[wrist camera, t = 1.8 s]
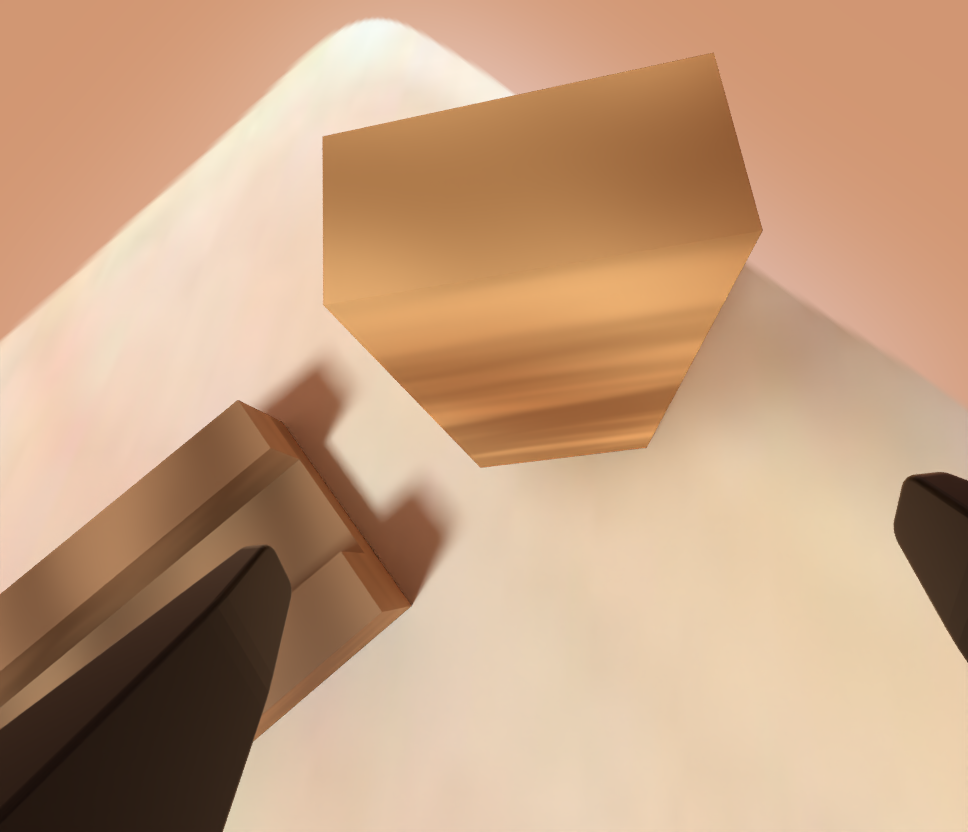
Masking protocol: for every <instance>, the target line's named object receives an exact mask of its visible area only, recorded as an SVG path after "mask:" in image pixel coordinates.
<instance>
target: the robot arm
mask: <svg viewBox="0 0 968 832" xmlns="http://www.w3.org/2000/svg"><path fill="white" fill-rule="evenodd" d="M894 533H895V536H896V539H897V541H898V544H899V545H900V547H901V549H902V551H903V552H904V554H905V556H906V558H907V560H908V561H909V563H910V565H911V567H912V569H913V570H914V572H915V574H916V576H917V577H918V579H919V581H920V583H921V585H922V586H923V588H924V590H925V592H926V593H927V595H928V597H929V599H930V601H931V602H932V604H933V606H934V608H935V610H936V611H937V613H938V615H939V617H940V618H941V620H942V622H943V624H944V626H945V627H946V629H947V631H948V632H949V634H950V636H951V637H952V639H953V641H954V642H955V644H956V646H957V647H958V649H959V650H960V652H961V653H962V655H963V656H964V658H965V659H966V661H967V662H968V481H967V480H965V479H962V478H959V477H957V476H954V475H951V474H948V473H944V472H935V473H925V474H916V475H911V476H909V477H907V478H906V479H905V481H904V482H903V485H902V488H901V493H900V497H899V501H898V506H897V510H896V515H895V519H894ZM291 595H292V588H291V583H290V580H289V578H288V576H287V574H286V572H285V569H284V567H283V565H282V563H281V561H280V559H279V557H278V555H277V553H276V551H275V549H274V548H273V547H272V546H270V545H267V544H262V545H253V546H246V547H243V548H241V549H239V550H238V551H237V552H235V553H234V554H233V555H231V556H230V557H229V558H227V559H226V560H225V561H223V562H222V563H221V564H219V565H218V566H217V567H215V568H214V569H213V570H211V571H210V572H209V573H207V574H206V575H205V576H203V577H202V578H201V579H199V580H198V581H197V582H195V583H194V584H193V585H191V586H190V587H189V588H187V589H186V590H185V591H183V592H182V593H181V594H179V595H178V596H177V597H175V598H174V599H173V600H171V601H170V602H169V603H167V604H166V605H165V606H163V607H162V608H161V609H159V610H158V611H157V612H155V613H154V614H153V615H151V616H150V617H149V618H147V619H146V620H145V621H143V622H142V623H141V624H139V625H138V626H137V627H135V628H134V629H133V630H131V631H130V632H129V633H127V634H126V635H125V636H123V637H122V638H121V639H119V640H118V641H117V642H115V643H114V644H113V645H111V646H110V647H109V648H107V649H106V650H105V651H103V652H102V653H101V654H99V655H98V656H97V657H95V658H94V659H93V660H92V661H90V662H89V663H88V664H86V665H85V666H84V667H82V668H81V669H80V670H78V671H77V672H76V673H74V674H73V675H72V676H70V677H69V678H68V679H66V680H65V681H64V682H62V683H61V684H60V685H58V686H57V687H56V688H54V689H53V690H52V691H50V692H49V693H48V694H46V695H45V696H44V697H42V698H41V699H40V700H38V701H37V702H36V703H34V704H33V705H32V706H30V707H29V708H28V709H26V710H25V711H24V712H22V713H21V714H20V715H18V716H17V717H16V718H14V719H13V720H12V721H10V722H9V723H8V724H6V725H5V726H4V727H2V728H1V729H0V832H223V829H224V826H225V824H226V821H227V818H228V815H229V812H230V809H231V806H232V803H233V800H234V797H235V794H236V791H237V788H238V785H239V782H240V779H241V776H242V773H243V770H244V767H245V764H246V761H247V758H248V755H249V752H250V749H251V746H252V743H253V740H254V737H255V734H256V731H257V728H258V725H259V722H260V719H261V716H262V713H263V710H264V707H265V704H266V701H267V697H268V694H269V691H270V687H271V683H272V679H273V675H274V671H275V667H276V662H277V658H278V653H279V649H280V645H281V640H282V636H283V632H284V627H285V623H286V618H287V614H288V610H289V605H290V601H291Z"/></svg>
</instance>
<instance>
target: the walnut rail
mask: <svg viewBox="0 0 968 832" xmlns="http://www.w3.org/2000/svg"><path fill="white" fill-rule="evenodd" d="M262 544H267V545H270V546H272V547H273V548H274V549H275V551H276V553H277V555H278V557H279V559H280V561H281V563H282V565H283V567H284V569H285V572H286V574H287V576H288V578H289V580H290V583H291V588H292V595H291V601H290V605H289V610H288V614H287V618H286V623H285V627H284V632H283V636H282V640H281V645H280V649H279V653H278V658H277V662H276V667H275V671H274V675H273V679H272V683H271V687H270V691H269V694H268V697H267V701H266V704H265V707H264V710H263V713H262V716H261V719H260V722H259V725H258V728H257V731H256V734H255V737H254V740H256V739H257V738H258V737H259V736H260V735H261V734H263V733H264V732H265V731H266V730H267V729H268V728H270V727H271V726H272V725H273V724H274V723H275V722H277V721H278V720H279V719H280V718H281V717H282V716H284V715H285V714H286V713H287V712H288V711H289V710H291V709H292V708H293V707H294V706H295V705H296V704H298V703H299V702H300V701H301V700H302V699H303V698H305V697H306V696H307V695H308V694H309V693H310V692H312V691H313V690H314V689H315V688H316V687H317V686H319V685H320V684H321V683H322V682H323V681H324V680H326V679H327V678H328V677H329V676H330V675H331V674H333V673H334V672H335V671H336V670H337V669H338V668H340V667H341V666H342V665H343V664H344V663H345V662H347V661H348V660H349V659H350V658H351V657H352V656H354V655H355V654H356V653H357V652H358V651H359V650H361V649H362V648H363V647H364V646H365V645H366V644H368V643H369V642H370V641H371V640H372V639H373V638H375V637H376V636H377V635H378V634H379V633H380V632H382V631H383V630H384V629H385V628H386V627H387V626H389V625H390V624H391V623H392V622H393V621H395V620H396V619H397V618H398V617H399V616H400V615H402V614H403V613H404V612H405V611H406V610H407V609H409V608H410V607H411V605H410V603H409V602H408V600H407V599H406V597H405V596H404V595H403V593H402V592H401V590H400V589H399V588H398V586H397V585H396V583H395V582H394V580H393V579H392V578H391V576H390V575H389V573H388V572H387V570H386V569H385V568H384V566H383V565H382V563H381V562H380V561H379V559H378V558H377V556H376V555H375V553H374V552H373V551H372V549H371V548H370V546H369V545H368V543H367V542H366V541H365V539H364V538H363V536H362V535H361V533H360V532H359V531H358V529H357V528H356V526H355V525H354V524H353V522H352V521H351V519H350V518H349V516H348V515H347V514H346V512H345V511H344V509H343V508H342V506H341V505H340V504H339V502H338V501H337V499H336V498H335V497H334V495H333V494H332V492H331V491H330V489H329V488H328V487H327V485H326V484H325V482H324V481H323V479H322V478H321V477H320V475H319V474H318V472H317V471H316V469H315V468H314V467H313V465H312V464H311V462H310V461H309V460H308V458H307V457H306V455H305V454H304V452H303V451H302V450H301V448H300V447H299V445H298V444H297V442H296V441H295V440H294V438H293V437H292V435H291V434H290V433H289V431H288V430H287V428H286V427H285V425H284V424H283V423H282V422H281V421H279V420H277V419H275V418H273V417H271V416H269V415H267V414H265V413H263V412H261V411H259V410H257V409H255V408H253V407H251V406H249V405H247V404H245V403H243V402H241V401H239V400H237V401H236V402H235V403H234V404H232V405H231V406H230V407H229V408H228V409H226V410H225V411H224V412H223V413H221V414H220V415H219V416H218V417H217V418H215V419H214V420H213V421H212V422H210V423H209V424H208V425H207V426H205V427H204V428H203V429H202V430H201V431H199V432H198V433H197V434H196V435H194V436H193V437H192V438H191V439H190V440H188V441H187V442H186V443H185V444H183V445H182V446H181V447H180V448H179V449H177V450H176V451H175V452H174V453H172V454H171V455H170V456H169V457H168V458H166V459H165V460H164V461H163V462H161V463H160V464H159V465H158V466H157V467H155V468H154V469H153V470H152V471H150V472H149V473H148V474H147V475H146V476H144V477H143V478H142V479H141V480H139V481H138V482H137V483H136V484H135V485H133V486H132V487H131V488H130V489H128V490H127V491H126V492H125V493H124V494H122V495H121V496H120V497H119V498H117V499H116V500H115V501H114V502H112V503H111V504H110V505H109V506H108V507H106V508H105V509H104V510H103V511H101V512H100V513H99V514H98V515H97V516H95V517H94V518H93V519H92V520H90V521H89V522H88V523H87V524H86V525H84V526H83V527H82V528H81V529H79V530H78V531H77V532H76V533H75V534H73V535H72V536H71V537H70V538H68V539H67V540H66V541H65V542H64V543H62V544H61V545H60V546H59V547H57V548H56V549H55V550H54V551H53V552H51V553H50V554H49V555H48V556H46V557H45V558H44V559H43V560H42V561H40V562H39V563H38V564H37V565H35V566H34V567H33V568H32V569H31V570H29V571H28V572H27V573H26V574H24V575H23V576H22V577H21V578H19V579H18V580H17V581H16V582H15V583H13V584H12V585H11V586H10V587H8V588H7V589H6V590H5V591H4V592H2V593H1V594H0V729H1V728H2V727H4V726H5V725H6V724H8V723H9V722H10V721H12V720H13V719H14V718H16V717H17V716H18V715H20V714H21V713H22V712H24V711H25V710H26V709H28V708H29V707H30V706H32V705H33V704H34V703H36V702H37V701H38V700H40V699H41V698H42V697H44V696H45V695H46V694H48V693H49V692H50V691H52V690H53V689H54V688H56V687H57V686H58V685H60V684H61V683H62V682H64V681H65V680H66V679H68V678H69V677H70V676H72V675H73V674H74V673H76V672H77V671H78V670H80V669H81V668H82V667H84V666H85V665H86V664H88V663H89V662H90V661H92V660H93V659H94V658H95V657H97V656H98V655H99V654H101V653H102V652H103V651H105V650H106V649H107V648H109V647H110V646H111V645H113V644H114V643H115V642H117V641H118V640H119V639H121V638H122V637H123V636H125V635H126V634H127V633H129V632H130V631H131V630H133V629H134V628H135V627H137V626H138V625H139V624H141V623H142V622H143V621H145V620H146V619H147V618H149V617H150V616H151V615H153V614H154V613H155V612H157V611H158V610H159V609H161V608H162V607H163V606H165V605H166V604H167V603H169V602H170V601H171V600H173V599H174V598H175V597H177V596H178V595H179V594H181V593H182V592H183V591H185V590H186V589H187V588H189V587H190V586H191V585H193V584H194V583H195V582H197V581H198V580H199V579H201V578H202V577H203V576H205V575H206V574H207V573H209V572H210V571H211V570H213V569H214V568H215V567H217V566H218V565H219V564H221V563H222V562H223V561H225V560H226V559H227V558H229V557H230V556H231V555H233V554H234V553H235V552H237V551H238V550H239V549H241V548H243V547H246V546H253V545H262ZM254 740H253V741H254Z"/></svg>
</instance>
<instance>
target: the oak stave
mask: <svg viewBox="0 0 968 832" xmlns="http://www.w3.org/2000/svg"><path fill="white" fill-rule="evenodd" d="M761 233H762V226H761V223H760V219H759V215H758V212H757V208H756V205H755V201H754V197H753V194H752V190H751V186H750V183H749V179H748V175H747V172H746V168H745V164H744V161H743V157H742V154H741V150H740V146H739V143H738V139H737V135H736V132H735V128H734V125H733V121H732V117H731V114H730V110H729V106H728V103H727V99H726V95H725V92H724V88H723V85H722V81H721V78H720V74H719V70H718V66H717V63H716V59H715V56H714V53H710V54H705V55H700V56H696V57H691V58H686V59H682V60H677V61H672V62H668V63H663V64H658V65H654V66H649V67H645V68H640V69H635V70H630V71H626V72H622V73H617V74H612V75H607V76H603V77H598V78H593V79H589V80H584V81H579V82H575V83H570V84H565V85H561V86H556V87H552V88H547V89H542V90H537V91H533V92H528V93H524V94H519V95H514V96H509V97H505V98H500V99H495V100H491V101H486V102H481V103H477V104H472V105H468V106H463V107H458V108H454V109H449V110H444V111H440V112H435V113H430V114H426V115H421V116H416V117H412V118H407V119H402V120H398V121H393V122H388V123H384V124H379V125H374V126H370V127H365V128H360V129H356V130H351V131H346V132H342V133H337V134H332V135H328V136H323V305H324V306H325V307H326V308H327V309H328V310H329V311H330V312H331V313H332V314H333V316H334V317H335V318H336V319H337V320H338V321H339V322H340V323H341V324H342V325H343V326H344V327H345V328H346V329H347V330H348V331H349V332H350V333H351V334H352V335H353V336H354V337H355V338H356V339H357V340H358V341H359V342H360V343H361V344H362V346H363V347H364V348H365V349H366V350H367V351H368V352H369V353H370V354H371V355H372V356H373V357H374V358H375V359H376V360H377V361H378V362H379V363H380V364H381V365H382V366H383V367H384V368H385V369H386V370H387V371H388V372H389V373H390V374H391V376H392V377H393V378H394V379H395V380H396V381H397V382H398V383H399V384H400V385H401V386H402V387H403V388H404V389H405V390H406V391H407V392H408V393H409V394H410V395H411V396H412V397H413V398H414V399H415V400H416V401H417V402H418V403H419V404H420V406H421V407H422V408H423V409H424V410H425V411H426V412H427V413H428V414H429V415H430V416H431V417H432V418H433V419H434V420H435V421H436V422H437V423H438V424H439V425H440V426H441V427H442V428H443V429H444V430H445V431H446V432H447V433H448V434H449V436H450V437H451V438H452V439H453V440H454V441H455V442H456V443H457V444H458V445H459V446H460V447H461V448H462V449H463V450H464V451H465V452H466V453H467V454H468V455H469V456H470V457H471V458H472V459H473V460H474V461H475V462H476V463H477V464H478V466H479V467H480V468H482V467H491V466H499V465H507V464H515V463H523V462H532V461H540V460H548V459H556V458H564V457H573V456H581V455H589V454H597V453H606V452H614V451H622V450H630V449H638V448H646V447H647V445H648V444H649V442H650V440H651V438H652V436H653V434H654V432H655V431H656V429H657V427H658V425H659V423H660V421H661V419H662V417H663V416H664V414H665V412H666V410H667V408H668V406H669V404H670V403H671V401H672V399H673V397H674V395H675V393H676V391H677V389H678V388H679V386H680V384H681V382H682V380H683V378H684V376H685V375H686V373H687V371H688V369H689V367H690V365H691V363H692V361H693V360H694V358H695V356H696V354H697V352H698V350H699V348H700V346H701V345H702V343H703V341H704V339H705V337H706V335H707V333H708V332H709V330H710V328H711V326H712V324H713V322H714V320H715V318H716V317H717V315H718V313H719V311H720V309H721V307H722V305H723V304H724V302H725V300H726V298H727V296H728V294H729V292H730V290H731V289H732V287H733V285H734V283H735V281H736V279H737V277H738V276H739V274H740V272H741V270H742V268H743V266H744V264H745V262H746V261H747V259H748V257H749V255H750V253H751V251H752V249H753V247H754V246H755V244H756V241H757V240H758V238H759V236H760V234H761Z"/></svg>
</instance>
